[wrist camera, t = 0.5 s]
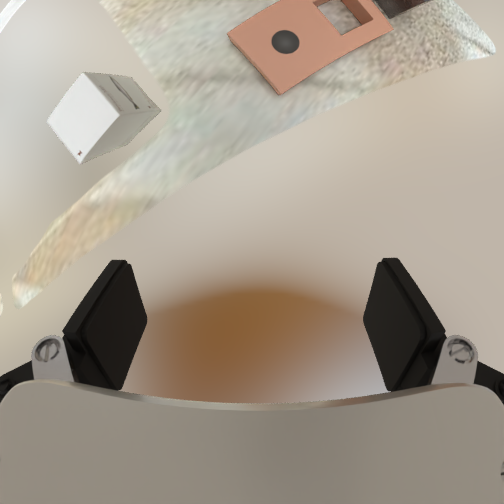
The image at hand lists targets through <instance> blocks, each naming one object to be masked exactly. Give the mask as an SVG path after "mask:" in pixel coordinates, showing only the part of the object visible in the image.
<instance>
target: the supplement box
mask: <svg viewBox="0 0 504 504" xmlns="http://www.w3.org/2000/svg"><path fill="white" fill-rule="evenodd" d="M160 112H161V110H160V109H159V108H158V107H157V106H156V104H155V103H154V102H153V101H152V100H151V99H150V98H149V97H148V96H147V95H146V94H145V93H144V91H143V90H142V89H141V88H140V87H139V86H138V84H137V83H136V82H135V81H134V80H133V78H132V77H127V76H119V75H111V74H101V73H87V72H82V73H81V75H80V76H79V77H78V78H77V80H76V81H75V82H74V83H73V85H72V86H71V87H70V89H69V90H68V91H67V93H66V94H65V95H64V97H63V98H62V99H61V101H60V102H59V103H58V105H57V106H56V108H55V109H54V110H53V112H52V113H51V115H50V116H49V118H48V119H47V124H48V125H49V126H50V127H51V129H52V130H53V131H54V133H55V134H56V135H57V136H58V138H59V139H60V140H61V142H62V143H63V144H64V145H65V147H66V148H67V149H68V150H69V151H70V152H71V154H72V155H73V156H74V158H75V159H76V160H77V161H78V163H79V164H83V163H85V162H87V161H89V160H91V159H94V158H96V157H98V156H101V155H103V154H105V153H108V152H110V151H112V150H115V149H117V148H120V147H123V146H125V145H127V144H128V143H129V142H130V141H131V140H132V139H133V138H134V137H135V136H136V135H137V134H138V133H139V132H140V131H141V130H142V129H143V128H144V127H145V126H146V125H147V124H148V123H149V122H150V121H151V120H152V119H153V118H154V117H155V116H157V115H158V114H159V113H160Z"/></svg>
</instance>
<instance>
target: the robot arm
mask: <svg viewBox="0 0 504 504" xmlns="http://www.w3.org/2000/svg"><path fill="white" fill-rule="evenodd" d="M363 322H364V326H365V328H366V331H367V333H368V336H369V339H370V342H371V344H372V347H373V350H374V353H375V356H376V359H377V362H378V365H379V367H380V371H381V374H382V376H383V379H384V383H385V386H386V388H387V390H388V391H391V392H388V393H382V394H375V395H369V396H362V397H354V398H346V399H337V400H327V401H316V402H299V403H274V404H272V403H271V404H243V403H215V402H201V401H189V400H178V399H169V398H161V397H153V396H146V395H140V394H134V393H128V392H122V391H118V390H121V389H122V387H123V384H124V381H125V379H126V376H127V373H128V370H129V368H130V365H131V362H132V360H133V357H134V354H135V352H136V349H137V347H138V344H139V341H140V339H141V337H142V334H143V332H144V329H145V327H146V324H147V315H146V312H145V309H144V306H143V303H142V300H141V296H140V293H139V290H138V287H137V283H136V280H135V277H134V273H133V270H132V266H131V265H130V264H128V263H127V261H126V260H112V261H110V263H109V264H108V265H107V266H106V268H105V269H104V271H103V272H102V273H101V275H100V276H99V277H98V279H97V280H96V282H95V283H94V284H93V286H92V287H91V288H90V290H89V291H88V293H87V294H86V296H85V297H84V299H83V300H82V301H81V303H80V304H79V306H78V307H77V309H76V311H75V312H74V313H73V315H72V316H71V318H70V320H69V321H68V323H67V324H66V326H65V327H64V329H63V333H64V336H63V338H61V337H59V336H56V335H50V336H46V337H44V338H43V339H41V340H40V341H38V342H37V343H36V345H35V346H34V348H33V350H32V355H31V357H32V360H31V361H30V362H28V363H25V364H24V365H22V366H20V367H18V368H16V369H14V370H12V371H10V372H8V373H6V374H4V375H2V376H1V377H0V504H504V374H503V373H501V372H499V371H497V370H495V369H493V368H491V367H489V366H487V365H485V364H483V363H481V362H479V361H478V352H477V349H476V347H475V346H474V344H473V343H472V342H471V341H470V340H469V339H467V338H465V337H463V336H459V335H452V336H449V337H448V338H447V337H446V335H445V334H444V333H445V329H444V327H443V325H442V324H441V322H440V320H439V319H438V317H437V316H436V314H435V312H434V311H433V309H432V308H431V306H430V304H429V303H428V301H427V300H426V298H425V297H424V295H423V294H422V292H421V291H420V289H419V288H418V286H417V285H416V283H415V282H414V280H413V279H412V277H411V276H410V274H409V273H408V272H407V270H406V269H405V267H404V266H403V265H402V263H401V262H400V260H399V259H398V258H383V259H382V261H381V262H379V263H378V264H377V267H376V272H375V276H374V279H373V283H372V287H371V291H370V295H369V298H368V302H367V305H366V309H365V312H364V316H363Z"/></svg>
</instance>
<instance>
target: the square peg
mask: <svg viewBox="0 0 504 504" xmlns="http://www.w3.org/2000/svg"><path fill="white" fill-rule="evenodd" d="M375 1H376V2H377V3H378V4H379V6H380V7H381V8H382V9H383V11H384V12H385V13H386V14H387V16H388V17H389V18H390V19H391V18H393V17H395V16H398V15H400V14H402V13H405V12H407V11H409V10H412V9H414V8H416V7H418V6H421V5H423V4H425V3H427V2H430V1H432V0H375Z"/></svg>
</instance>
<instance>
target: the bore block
mask: <svg viewBox="0 0 504 504" xmlns="http://www.w3.org/2000/svg"><path fill="white" fill-rule="evenodd" d="M328 1H330V0H280V1H278V2H276V3H275V4H273V5H271V6H269V7H267V8H266V9H264V10H262V11H261V12H259V13H257V14H256V15H254V16H252V17H251V18H249V19H248V20H246V21H245V22H243V23H242V24H240V25H238V26H237V27H235V28H234V29H233V30H231V31H230V32H228V33H227V35H228V37H229V39H230V41H231V42H232V43H233V44H234V45H235V46H236V47H237V48H238V49H239V50H240V51H241V52H242V53H243V54H244V56H245V57H246V58H247V59H248V60H249V61H250V62H251V63H252V64H253V65H254V67H255V68H256V69H257V70H258V71H259V72H260V73H261V75H262V76H263V77H264V78H265V79H266V80H267V82H268V83H269V84H270V85H271V86H272V87H273V89H274V90H275V91H276V92H277V94H278V95H281V94H283V93H284V92H285V91H287V90H288V89H290V88H291V87H293V86H294V85H296V84H297V83H299V82H301V81H302V80H304V79H305V78H307V77H308V76H310V75H312V74H313V73H315V72H316V71H318V70H320V69H321V68H323V67H325V66H326V65H328V64H330V63H331V62H333V61H335V60H336V59H338V58H340V57H342V56H343V55H345V54H347V53H349V52H350V51H352V50H354V49H356V48H358V47H360V46H362V45H363V44H365V43H367V42H369V41H371V40H373V39H375V38H377V37H379V36H381V35H383V34H385V33H387V32H389V31H391V30H393V27H392V26H391V25H390V23H389V22H388V21H387V19H386V18H385V17H384V15H383V14H382V13H381V12H380V10H379V9H378V8H377V7H376V5H375V4H374V3H373V2H372V1H371V0H341V1H342V2H343V3H344V4H345V5H346V6H347V7H348V9H349V10H350V11H351V12H352V13H353V14H354V16H355V17H356V18H357V19H358V20H359V22H360V23H361V24H362V25H361V26H359V27H357V28H355V29H353V30H351V31H349V32H347V33H346V34H344V35H342V36H341V34H340V33H339V32H338V31H337V30H336V28H335V27H334V26H333V25H332V24H331V23H330V21H329V20H328V19H327V18H326V17H325V16H324V15H323V13H322V12H321V11H320V10H319V9H318V8H317V6H319V5H321V4H323V3H325V2H328Z"/></svg>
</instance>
